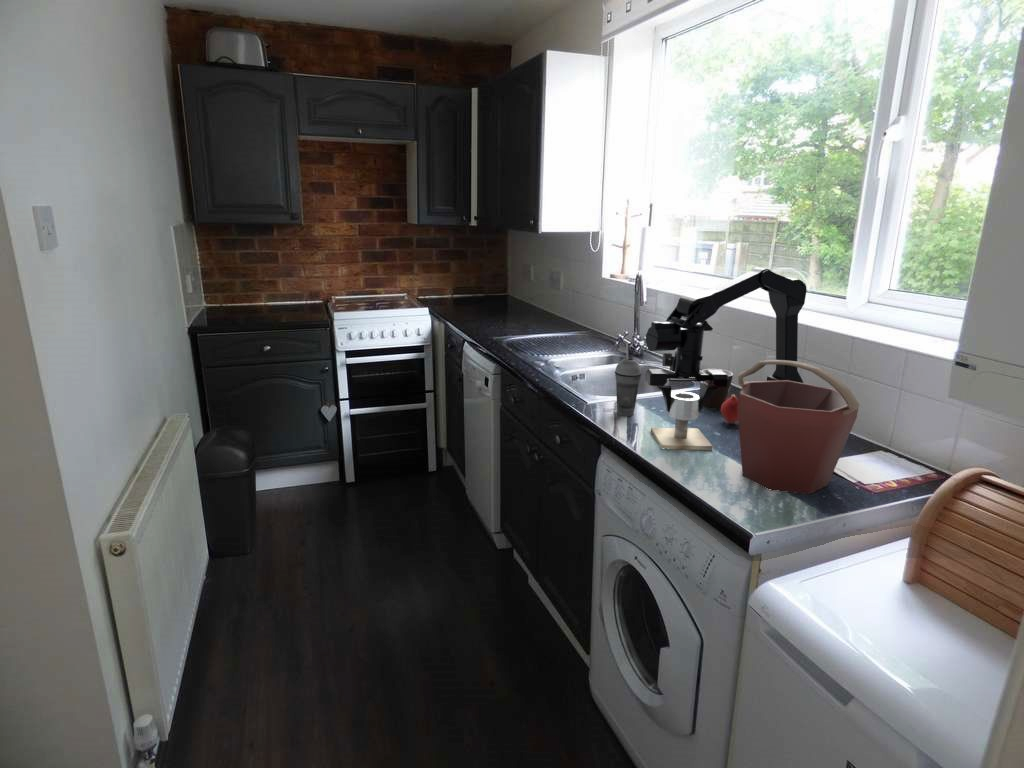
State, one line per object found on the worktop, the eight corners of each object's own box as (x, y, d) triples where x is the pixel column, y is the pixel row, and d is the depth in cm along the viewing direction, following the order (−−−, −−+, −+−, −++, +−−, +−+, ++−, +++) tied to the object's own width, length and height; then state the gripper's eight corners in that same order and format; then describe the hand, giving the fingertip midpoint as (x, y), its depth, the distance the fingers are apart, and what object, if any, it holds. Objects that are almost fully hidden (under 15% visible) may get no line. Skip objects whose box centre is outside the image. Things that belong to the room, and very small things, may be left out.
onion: (741, 421, 168) (745, 392, 166) (743, 428, 163) (746, 399, 160) (718, 418, 170) (722, 390, 167) (719, 425, 164) (723, 396, 162)
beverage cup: (626, 419, 168) (632, 347, 162) (606, 412, 173) (611, 342, 167) (644, 414, 172) (649, 343, 167) (623, 407, 178) (628, 338, 172)
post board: (697, 431, 159) (699, 409, 158) (712, 449, 148) (714, 426, 146) (650, 431, 159) (652, 409, 158) (661, 449, 148) (663, 425, 146)
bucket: (705, 462, 141) (717, 355, 134) (778, 448, 149) (793, 347, 142) (791, 510, 119) (811, 385, 112) (870, 491, 128) (893, 374, 121)
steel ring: (701, 420, 148) (703, 400, 147) (672, 420, 148) (673, 400, 147) (693, 411, 155) (694, 391, 154) (664, 410, 155) (666, 391, 154)
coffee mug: (723, 412, 175) (727, 378, 172) (693, 406, 180) (697, 373, 177) (736, 402, 183) (740, 370, 181) (708, 397, 188) (711, 365, 186)
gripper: (717, 342, 155) (711, 401, 159) (642, 341, 155) (638, 400, 159) (733, 352, 144) (725, 416, 149) (652, 351, 144) (647, 415, 148)
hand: (683, 411), depth 151 cm, fingers closed on steel ring, 7 cm apart
